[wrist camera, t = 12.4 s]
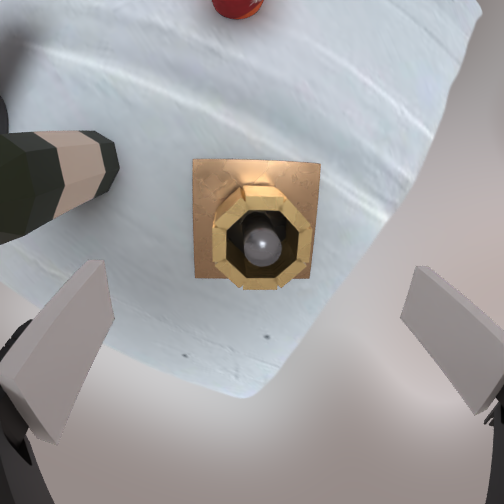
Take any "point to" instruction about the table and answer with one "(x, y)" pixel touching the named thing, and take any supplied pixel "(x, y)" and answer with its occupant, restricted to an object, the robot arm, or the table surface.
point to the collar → (292, 246)
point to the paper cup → (237, 8)
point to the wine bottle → (50, 176)
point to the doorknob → (253, 221)
